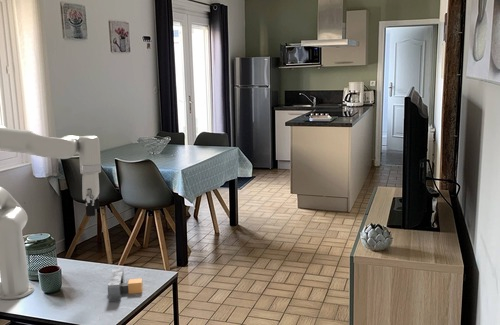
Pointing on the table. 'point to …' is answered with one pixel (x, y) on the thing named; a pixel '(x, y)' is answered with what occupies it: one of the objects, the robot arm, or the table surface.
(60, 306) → the table surface
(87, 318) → the table surface
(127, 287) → the cable plug
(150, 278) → the table surface
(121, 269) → the grey notched block
